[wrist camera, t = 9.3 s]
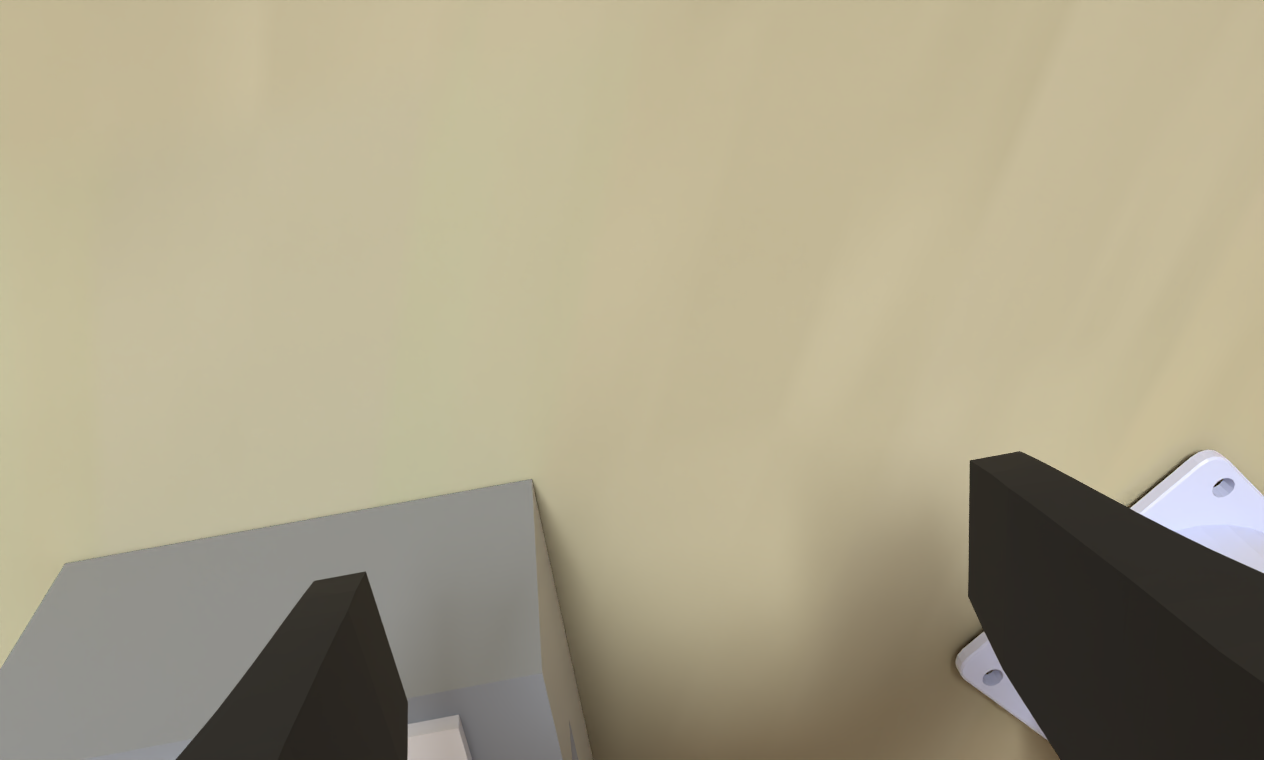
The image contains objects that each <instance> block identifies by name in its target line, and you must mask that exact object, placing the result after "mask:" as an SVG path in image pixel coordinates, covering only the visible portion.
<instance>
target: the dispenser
mask: <svg viewBox="0 0 1264 760" xmlns="http://www.w3.org/2000/svg"><path fill="white" fill-rule="evenodd" d="M365 571H366V573H367V577H368V580H369V583H370V586H371V589H372V592H373V595H374V598H375V601H376V604H377V608H378V611H379V614H380V617H381V620H382V623H383V626H384V629H385V632H386V636H387V639H388V642H389V645H390V648H391V651H392V654H393V657H394V660H395V663H396V667H397V670H398V673H399V676H400V679H401V682H402V685H403V688H404V691H405V695H406V698H407V701H408V757H407V760H593V756H592V752H591V747H590V743H589V738H588V733H587V729H586V724H585V720H584V715H583V711H582V706H581V701H580V697H579V692H578V688H577V683H576V679H575V674H574V669H573V665H572V660H571V656H570V651H569V647H568V642H567V637H566V633H565V628H564V624H563V619H562V615H561V610H560V606H559V601H558V596H557V592H556V587H555V583H554V578H553V574H552V569H551V564H550V560H549V555H548V551H547V546H546V542H545V537H544V532H543V528H542V523H541V519H540V514H539V510H538V505H537V501H536V496H535V491H534V487H533V482H532V479H530V480H524V481H519V482H513V483H508V484H502V485H497V486H491V487H485V488H480V489H474V490H469V491H463V492H458V493H452V494H447V495H441V496H436V497H430V498H425V499H419V500H414V501H408V502H403V503H397V504H392V505H386V506H381V507H375V508H370V509H364V510H359V511H353V512H347V513H342V514H336V515H331V516H325V517H320V518H314V519H309V520H303V521H298V522H292V523H287V524H281V525H276V526H270V527H265V528H259V529H254V530H248V531H243V532H237V533H232V534H226V535H221V536H215V537H209V538H204V539H198V540H193V541H187V542H182V543H176V544H171V545H165V546H160V547H154V548H149V549H143V550H138V551H132V552H127V553H121V554H116V555H110V556H105V557H99V558H94V559H88V560H83V561H77V562H71V563H66V564H64V566H63V568H62V569H61V571H60V572H59V574H58V576H57V577H56V579H55V581H54V582H53V584H52V586H51V587H50V589H49V590H48V592H47V594H46V595H45V597H44V599H43V600H42V602H41V604H40V605H39V607H38V608H37V610H36V612H35V613H34V615H33V617H32V618H31V620H30V621H29V623H28V625H27V626H26V628H25V630H24V631H23V633H22V635H21V636H20V638H19V639H18V641H17V643H16V644H15V646H14V648H13V649H12V651H11V653H10V654H9V656H8V657H7V659H6V661H5V662H4V664H3V666H2V667H1V669H0V760H176V759H177V757H178V756H179V755H180V754H181V753H182V751H183V750H184V749H185V748H186V747H187V745H188V744H189V743H190V742H191V741H192V740H193V738H194V737H195V736H196V735H197V734H198V732H199V731H200V730H201V729H202V728H203V726H204V725H205V724H206V723H207V722H208V720H209V719H210V718H211V717H212V716H213V715H214V713H215V712H216V711H217V710H218V708H219V707H220V706H221V704H222V703H223V702H224V700H225V699H226V698H227V696H228V695H229V694H230V693H231V691H232V690H233V689H234V687H235V686H236V685H237V683H238V682H239V681H240V679H241V678H242V677H243V676H244V674H245V673H246V672H247V670H248V669H249V668H250V666H251V665H252V664H253V662H254V661H255V660H256V658H257V657H258V656H259V654H260V653H261V651H262V650H263V649H264V647H265V646H266V645H267V643H268V642H269V641H270V639H271V638H272V636H273V635H274V634H275V632H276V631H277V630H278V628H279V627H280V625H281V624H282V623H283V621H284V620H285V619H286V617H287V616H288V615H289V613H290V612H291V610H292V609H293V608H294V606H295V605H296V604H297V602H298V601H299V600H300V598H301V597H302V596H303V594H304V593H305V592H306V590H307V589H308V588H309V587H310V585H311V584H312V583H313V581H316V580H321V579H327V578H332V577H338V576H343V575H349V574H354V573H360V572H365Z"/></svg>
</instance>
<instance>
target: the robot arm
mask: <svg viewBox="0 0 1264 760" xmlns="http://www.w3.org/2000/svg"><path fill="white" fill-rule="evenodd" d="M1221 479H1223V481H1222V482H1221V483H1220V484H1219V485H1218V486H1216V487H1214V488H1213V486H1214V485H1215V484H1216V483H1217V482H1218V481H1219V480H1221ZM968 597H969V599H970V601H971V603H972V606H973V608H974V610H975V612H976V614H977V617H978V619H979V621H980V623H981V625H982V628H983V630H984V632H982V633H981V634H980V635H979V636H978V637H976V638H975V639H974V640H973V641H972V642H970V643H969V644H968V645H967V646H966V647H965V648H963V649H962V650H961V652H960V653H959V654H958V655H957V658H956V661H955V663H956V668H957V669H958V671H959V673H960V675H961V676H962V677H963V679H964V680H966V681H967V682H968V683H970V684H971V685H972V686H974V687H975V688H976V689H978V690H979V691H981V692H982V693H983V694H985V695H986V696H987V697H989V698H990V699H992V700H993V701H994V702H996V703H997V704H998V705H1000V706H1001V707H1003V708H1004V709H1005V710H1007V711H1008V712H1009V713H1011V714H1012V715H1013V716H1015V717H1016V718H1018V719H1019V720H1020V721H1022V722H1023V723H1024V724H1026V725H1027V726H1029V727H1030V728H1031V729H1033V730H1034V731H1035V732H1037V733H1038V734H1039V735H1041V736H1042V737H1044V738H1045V739H1046V740H1048V741H1049V742H1050V744H1051V745H1052V747H1053V749H1054V750H1055V752H1056V753H1057V755H1058V756H1059V758H1060V759H1061V760H1264V496H1263V495H1262V494H1261V493H1260V492H1259V491H1258V490H1257V489H1256V488H1255V487H1254V486H1253V485H1252V484H1251V483H1250V482H1249V481H1248V480H1247V479H1246V478H1245V477H1244V476H1243V474H1242V473H1241V472H1240V471H1239V470H1238V469H1237V468H1236V467H1235V466H1234V465H1233V464H1232V463H1231V462H1230V461H1229V460H1227V459H1226V458H1225V457H1224V456H1223V455H1221V454H1220V453H1218V452H1217V451H1215V450H1204V451H1201V452H1198V453H1196V454H1195V455H1193V456H1192V457H1190V458H1189V459H1188V460H1187V461H1186V462H1184V463H1183V464H1182V465H1181V466H1180V467H1178V468H1177V469H1176V470H1175V471H1174V472H1173V473H1171V474H1170V475H1169V476H1168V477H1167V478H1165V479H1164V480H1163V481H1162V482H1161V483H1159V484H1158V485H1157V486H1156V487H1155V488H1154V489H1152V490H1151V491H1150V492H1149V493H1148V494H1146V495H1145V496H1144V497H1143V498H1142V499H1140V500H1139V501H1138V502H1137V503H1136V504H1134V505H1133V506H1132V507H1131V508H1128V507H1126V506H1124V505H1122V504H1120V503H1118V502H1117V501H1115V500H1113V499H1111V498H1109V497H1107V496H1105V495H1103V494H1102V493H1100V492H1098V491H1096V490H1094V489H1092V488H1090V487H1089V486H1087V485H1085V484H1083V483H1081V482H1079V481H1077V480H1076V479H1074V478H1072V477H1070V476H1068V475H1066V474H1064V473H1062V472H1061V471H1059V470H1057V469H1055V468H1053V467H1051V466H1049V465H1047V464H1045V463H1043V462H1041V461H1039V460H1037V459H1035V458H1033V457H1031V456H1029V455H1027V454H1025V453H1023V452H1020V451H1019V452H1014V453H1008V454H1003V455H997V456H992V457H987V458H981V459H976V460H970V495H969V582H968ZM990 670H994V671H993V672H991V673H989V674H986V673H987V672H989V671H990ZM407 757H408V701H407V698H406V695H405V691H404V688H403V685H402V682H401V679H400V676H399V673H398V670H397V667H396V663H395V660H394V657H393V654H392V651H391V648H390V645H389V642H388V639H387V636H386V632H385V629H384V626H383V623H382V620H381V617H380V614H379V611H378V608H377V604H376V601H375V598H374V595H373V592H372V589H371V586H370V583H369V580H368V577H367V573H366V571H365V572H360V573H354V574H349V575H343V576H338V577H332V578H327V579H321V580H316V581H313V583H312V584H311V585H310V587H309V588H308V589H307V590H306V592H305V593H304V594H303V596H302V597H301V598H300V600H299V601H298V602H297V604H296V605H295V606H294V608H293V609H292V610H291V612H290V613H289V615H288V616H287V617H286V619H285V620H284V621H283V623H282V624H281V625H280V627H279V628H278V630H277V631H276V632H275V634H274V635H273V636H272V638H271V639H270V641H269V642H268V643H267V645H266V646H265V647H264V649H263V650H262V651H261V653H260V654H259V656H258V657H257V658H256V660H255V661H254V662H253V664H252V665H251V666H250V668H249V669H248V670H247V672H246V673H245V674H244V676H243V677H242V678H241V679H240V681H239V682H238V683H237V685H236V686H235V687H234V689H233V690H232V691H231V693H230V694H229V695H228V696H227V698H226V699H225V700H224V702H223V703H222V704H221V706H220V707H219V708H218V710H217V711H216V712H215V713H214V715H213V716H212V717H211V718H210V719H209V720H208V722H207V723H206V724H205V725H204V726H203V728H202V729H201V730H200V731H199V732H198V734H197V735H196V736H195V737H194V738H193V740H192V741H191V742H190V743H189V744H188V745H187V747H186V748H185V749H184V750H183V751H182V753H181V754H180V755H179V756H178V757H177V759H176V760H407Z"/></svg>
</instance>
